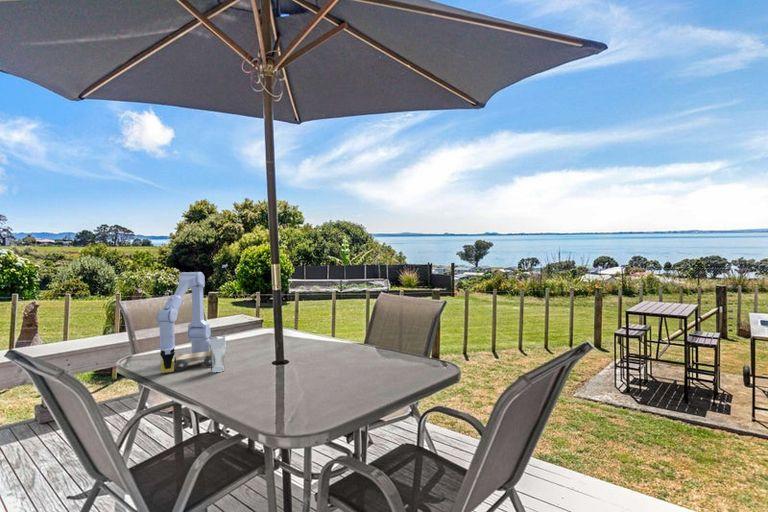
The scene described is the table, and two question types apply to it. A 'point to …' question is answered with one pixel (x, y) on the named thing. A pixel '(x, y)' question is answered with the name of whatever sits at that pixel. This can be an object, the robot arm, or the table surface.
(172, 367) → the block
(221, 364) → the beer glass
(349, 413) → the table surface
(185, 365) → the dolly
